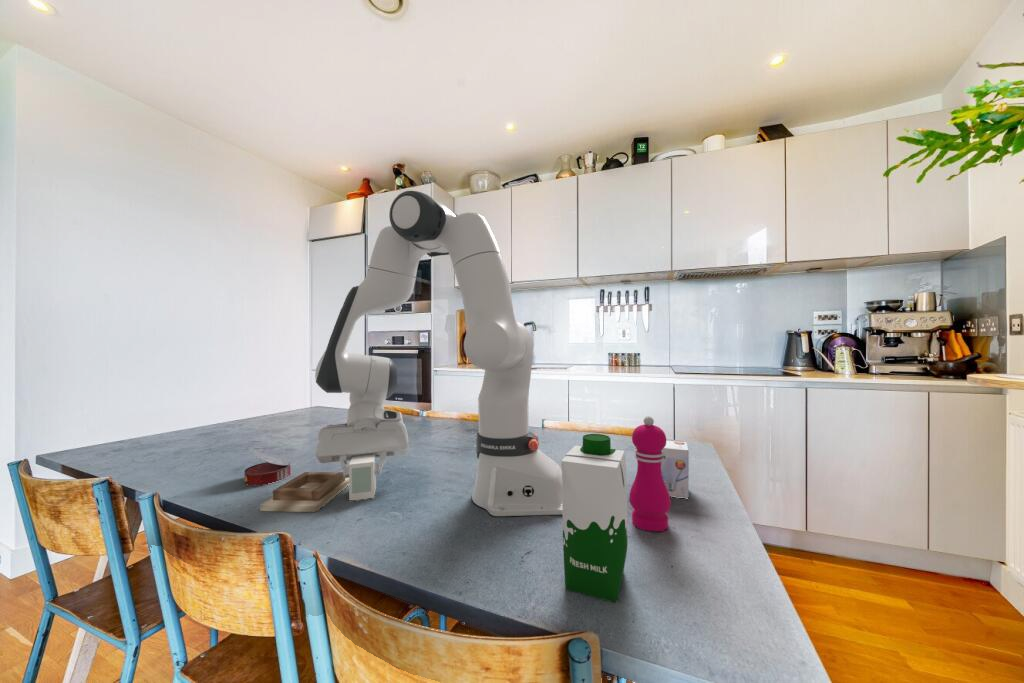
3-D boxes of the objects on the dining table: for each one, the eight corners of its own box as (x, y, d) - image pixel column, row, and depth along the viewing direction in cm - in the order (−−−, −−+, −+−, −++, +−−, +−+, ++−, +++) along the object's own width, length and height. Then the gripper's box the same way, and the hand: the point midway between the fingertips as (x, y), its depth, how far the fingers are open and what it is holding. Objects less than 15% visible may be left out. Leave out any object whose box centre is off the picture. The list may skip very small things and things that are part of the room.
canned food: (259, 492, 97) (267, 453, 102) (296, 488, 97) (303, 449, 101) (226, 487, 87) (237, 444, 92) (267, 482, 87) (276, 440, 91)
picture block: (375, 487, 87) (375, 453, 87) (373, 498, 81) (373, 462, 81) (353, 490, 86) (352, 456, 86) (349, 501, 80) (348, 464, 80)
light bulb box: (637, 493, 82) (636, 445, 82) (638, 482, 89) (638, 437, 89) (690, 500, 78) (689, 449, 78) (688, 488, 85) (687, 441, 85)
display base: (354, 481, 91) (354, 468, 91) (316, 511, 75) (316, 496, 75) (307, 481, 92) (307, 468, 92) (259, 511, 76) (259, 495, 76)
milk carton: (630, 569, 55) (629, 436, 55) (622, 610, 47) (621, 453, 47) (573, 556, 59) (571, 430, 59) (556, 592, 50) (554, 446, 50)
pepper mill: (651, 537, 64) (650, 422, 64) (621, 520, 70) (620, 415, 70) (679, 527, 67) (678, 417, 67) (648, 511, 74) (647, 411, 73)
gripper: (317, 418, 87) (308, 473, 78) (407, 412, 93) (409, 463, 84) (322, 432, 91) (313, 487, 82) (407, 426, 97) (409, 476, 88)
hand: (362, 475), depth 83 cm, fingers closed on picture block, 5 cm apart
